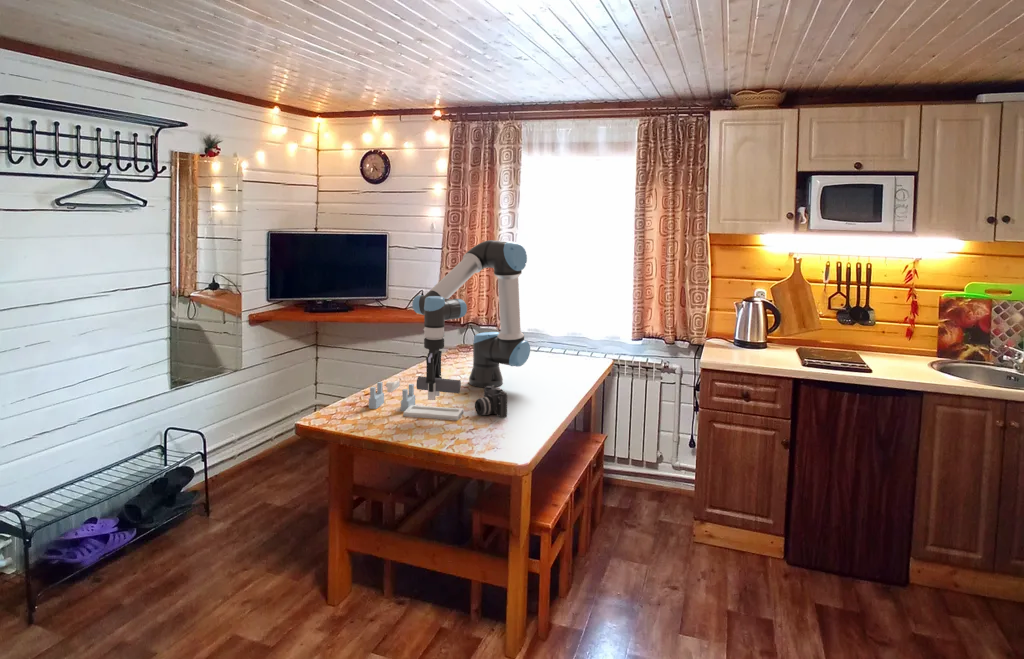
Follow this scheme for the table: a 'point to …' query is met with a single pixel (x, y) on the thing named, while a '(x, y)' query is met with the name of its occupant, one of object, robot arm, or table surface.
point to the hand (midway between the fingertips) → (433, 397)
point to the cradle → (378, 397)
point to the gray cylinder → (440, 385)
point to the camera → (492, 402)
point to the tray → (433, 412)
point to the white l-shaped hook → (392, 385)
